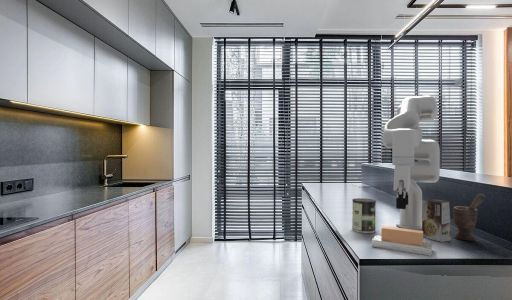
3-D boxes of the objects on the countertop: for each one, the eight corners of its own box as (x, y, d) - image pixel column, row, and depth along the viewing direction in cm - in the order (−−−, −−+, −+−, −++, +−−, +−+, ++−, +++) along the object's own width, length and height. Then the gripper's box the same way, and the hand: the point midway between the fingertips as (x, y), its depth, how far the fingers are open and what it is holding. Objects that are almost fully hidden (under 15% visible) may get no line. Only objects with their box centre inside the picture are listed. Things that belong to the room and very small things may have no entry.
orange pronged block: (381, 246, 123) (381, 228, 123) (382, 243, 126) (383, 225, 126) (422, 252, 116) (422, 233, 116) (422, 249, 119) (423, 230, 119)
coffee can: (377, 229, 149) (378, 199, 149) (372, 234, 140) (373, 202, 140) (355, 226, 154) (355, 197, 154) (349, 231, 145) (349, 200, 145)
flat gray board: (371, 246, 122) (371, 239, 122) (375, 241, 129) (375, 235, 129) (431, 255, 112) (431, 248, 112) (432, 249, 119) (432, 243, 119)
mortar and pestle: (487, 240, 133) (488, 192, 133) (483, 244, 127) (484, 194, 127) (455, 235, 141) (456, 190, 141) (450, 238, 135) (451, 191, 135)
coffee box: (451, 240, 132) (452, 201, 133) (441, 242, 130) (442, 202, 130) (430, 235, 141) (431, 198, 141) (421, 236, 138) (421, 199, 138)
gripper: (395, 160, 130) (394, 202, 131) (389, 162, 115) (388, 209, 116) (415, 160, 127) (415, 203, 127) (412, 162, 112) (411, 211, 112)
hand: (402, 206), depth 121 cm, fingers open, 9 cm apart
